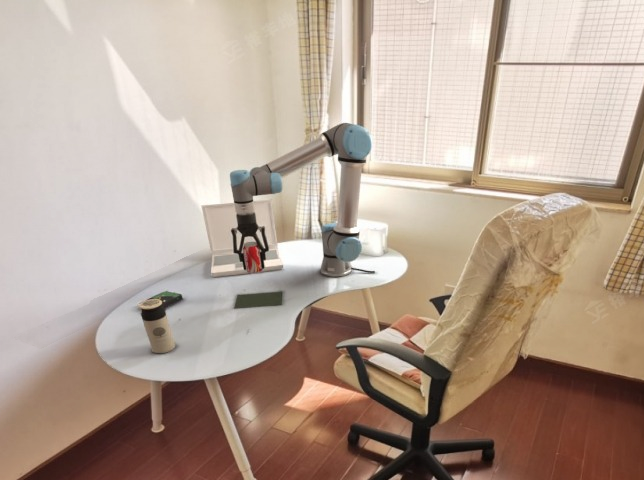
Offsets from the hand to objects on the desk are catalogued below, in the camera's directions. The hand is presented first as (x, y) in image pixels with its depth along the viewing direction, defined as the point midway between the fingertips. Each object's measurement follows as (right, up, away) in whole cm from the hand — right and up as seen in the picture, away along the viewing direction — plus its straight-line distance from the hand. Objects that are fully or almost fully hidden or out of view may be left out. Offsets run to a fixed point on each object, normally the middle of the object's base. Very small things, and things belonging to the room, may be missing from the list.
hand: (254, 268), depth 195 cm
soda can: (0, -1, +1) cm, 2 cm away
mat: (+1, -13, +6) cm, 14 cm away
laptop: (-13, +11, +42) cm, 46 cm away
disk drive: (-41, -15, +5) cm, 44 cm away
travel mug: (-27, -36, -27) cm, 53 cm away
